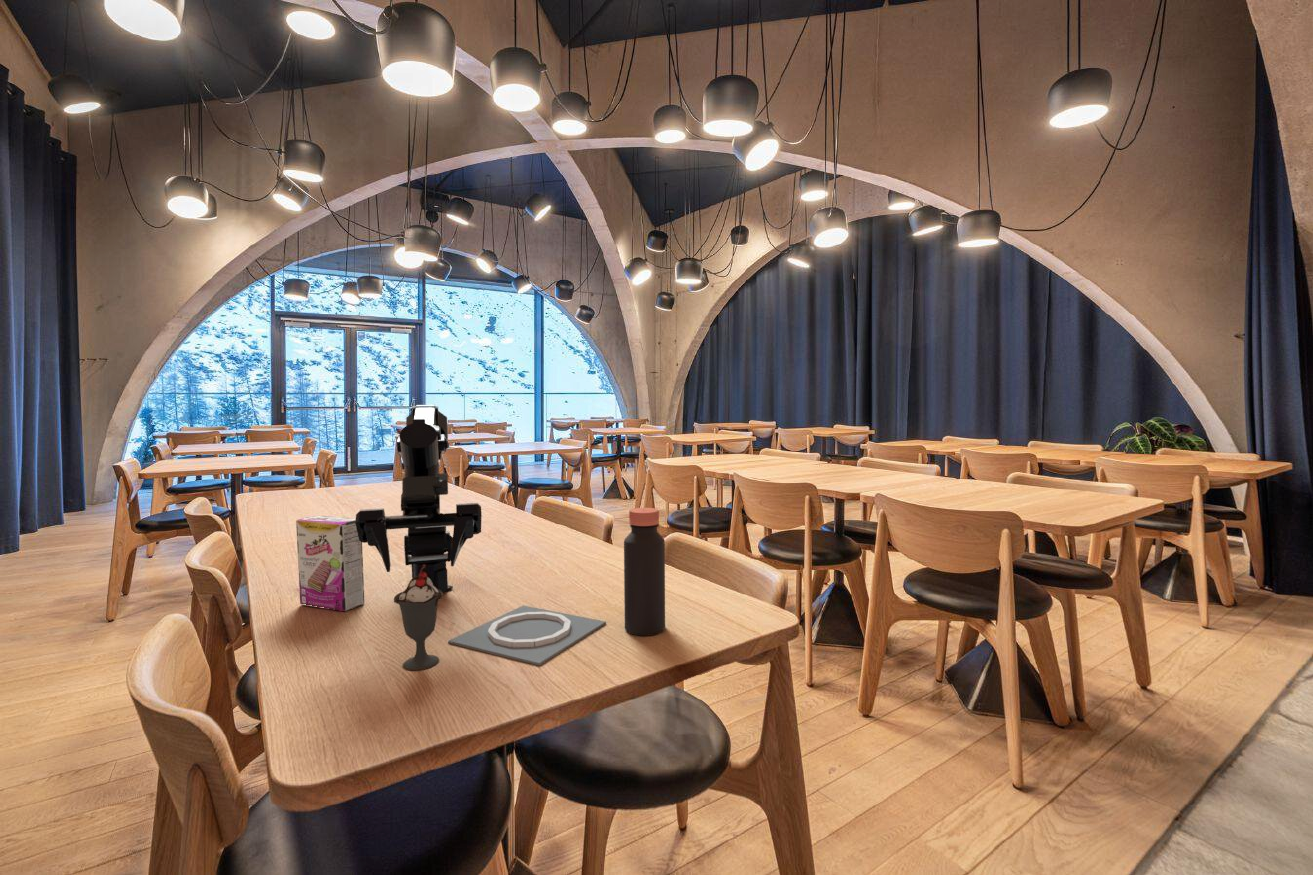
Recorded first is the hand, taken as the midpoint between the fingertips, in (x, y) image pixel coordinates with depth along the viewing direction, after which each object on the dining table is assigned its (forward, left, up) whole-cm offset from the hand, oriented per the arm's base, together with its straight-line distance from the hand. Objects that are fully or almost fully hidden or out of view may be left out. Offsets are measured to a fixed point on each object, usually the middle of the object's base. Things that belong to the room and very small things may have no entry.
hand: (420, 567), depth 92 cm
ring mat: (+11, +12, -12) cm, 21 cm away
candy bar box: (-31, +6, -13) cm, 34 cm away
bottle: (+27, +22, -13) cm, 37 cm away
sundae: (+4, -4, -13) cm, 14 cm away
